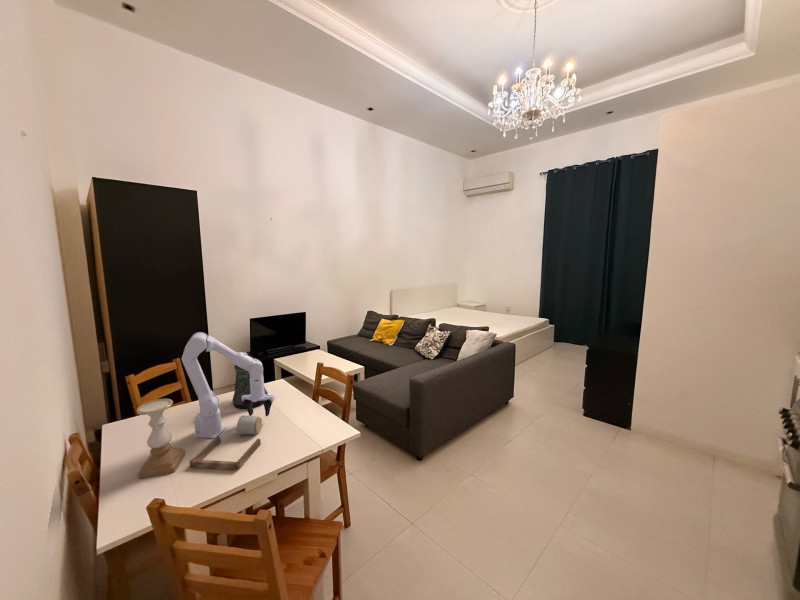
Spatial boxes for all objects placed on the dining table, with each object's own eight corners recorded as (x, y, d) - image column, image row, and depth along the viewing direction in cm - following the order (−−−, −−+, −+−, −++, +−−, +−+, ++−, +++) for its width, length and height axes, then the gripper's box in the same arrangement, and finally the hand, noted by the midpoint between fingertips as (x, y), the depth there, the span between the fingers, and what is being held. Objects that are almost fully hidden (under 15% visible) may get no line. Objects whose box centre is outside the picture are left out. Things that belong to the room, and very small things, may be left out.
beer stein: (248, 413, 150) (244, 364, 146) (221, 404, 158) (217, 358, 154) (275, 398, 165) (271, 353, 161) (249, 391, 173) (246, 348, 169)
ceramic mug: (256, 437, 131) (255, 420, 130) (236, 438, 130) (235, 421, 129) (265, 424, 141) (264, 408, 140) (247, 424, 141) (246, 408, 140)
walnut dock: (190, 467, 113) (189, 461, 112) (218, 442, 128) (217, 436, 127) (238, 470, 111) (237, 464, 111) (260, 444, 126) (260, 438, 126)
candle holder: (174, 472, 110) (166, 410, 106) (137, 479, 107) (128, 415, 103) (185, 453, 121) (178, 396, 117) (152, 458, 117) (144, 400, 114)
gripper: (236, 390, 136) (239, 419, 138) (268, 391, 136) (270, 420, 138) (245, 383, 143) (247, 411, 145) (275, 384, 143) (277, 411, 145)
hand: (259, 415), depth 142 cm, fingers open, 7 cm apart
